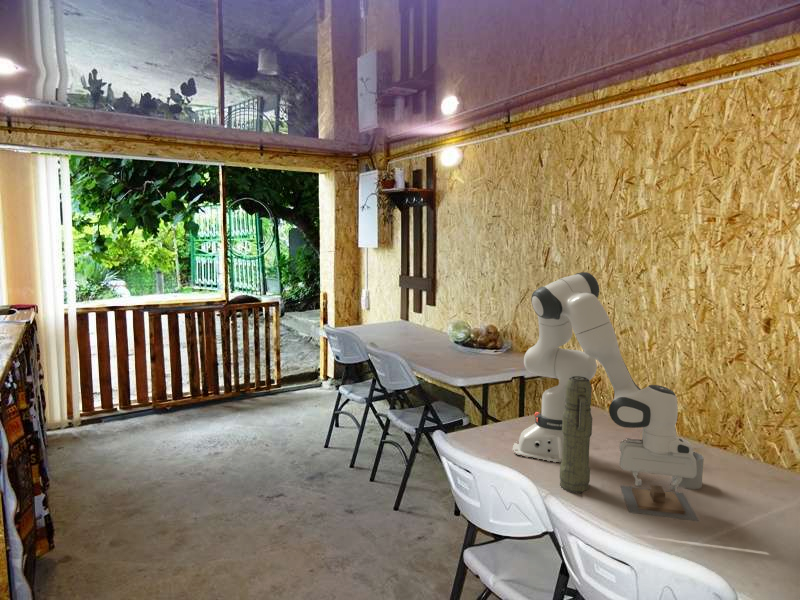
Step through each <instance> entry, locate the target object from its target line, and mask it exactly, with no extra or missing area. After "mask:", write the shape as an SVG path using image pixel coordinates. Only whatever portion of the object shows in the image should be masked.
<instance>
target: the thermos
mask: <svg viewBox="0 0 800 600" xmlns="http://www.w3.org/2000/svg"><path fill="white" fill-rule="evenodd" d="M590 381H591V380H589V379H587V378H585V377H580V376H573V377H571V378H569V380H568V382H567V385H566V398H565V402H566V405H565V410H564V413H563V420H562V432H563V455H562V461H561V462H560V464H559V487H560V486H561V487H560V488H561V489H562V488H563V489H562V490H563V491H565V490H566V492H567V493H568V492H569V493H572V494H583V492H586V491H588V490H589V486H590V485H589V483H590V479H591V468H590V465H589V463H590V461H589V460H590V440H591V437H592V433H593V416H592V409H591V405H592V390H593V389H592V385H591V382H590Z"/></svg>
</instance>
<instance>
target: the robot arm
mask: <svg viewBox="0 0 800 600" xmlns="http://www.w3.org/2000/svg"><path fill="white" fill-rule="evenodd" d="M599 295H600V286H599V282H598V280H597V279H596V277H595V276H593V274H591V272H590V273H589V272H587V271H585V272H583V271H582V272H577V273H575V274H572V275H568V276H565V277H564V276H563V277H561V278H559V279H557V280H555V281H552V282H550V283H548V284H546V285H544V286H540V287H538V288H536V290H534V291H533V292H532V293H531V297H530V299H531V306H532V309H533V311H534V312H535V314H536V315H537V322H538V340H537V341H536V343H535V344H534V345H533V346H530V347H529V348H528V349H527V350H526V352H525V353H524V357H523V365H524V368H525V370H526V371H527V373H530V374H533V375H535V376H539V377H544V378H552V379H557V380H559V381H558V385H555V386H553V387H550V388H548V389H546V390H544V392H543V393H542V395H541V413H540V412H538V411H535V413H534V417H535V419H534V421H535V423H533V424H532V425H530V426H528V427H526V428H525V429H524V430H522V431H521V433H520V435H519V438H518V441H519V444H517V443H515V442H514V443H513V444H514V445H512V451H513V450H514V452H516V453H517V454H520V455H525V456H529V457H534V458H539V459H543V460H542V461H544V460H547V461H546V462H550V461H553V462H552V463H556V462H559V463H561V462H562V455H563V432H562V420H563V413H564V410H565V405H566V402H565V398H566V385H567V382H568V380H569V378H571V377H573V376H580V377H585V378H587V379H589V381H591V380H592V379H593V378H594V377H595V375H596V373H597V369H598V367H597V366H598V365H597V361H598V363H600V365H601V366H602V367H603V369H604V371H605V374H606V375H607V377H608V380H609V382H610V385H611V386H612V388H613V392H614V398H613V399H612V401H611V403H610V404H609V408H608V412H609V416H610V417H609V418H611V420H612V422H613V423H615V424H616V425H618V426H619V427H622V428H629V429H630V428H631V429H632V428H633V429H635V428H637V429H638V428H642V434H641V436H642V437H641V439H634V438H630V437H629V438H625V439H622V440H621V441H620V442H619V451H620V457H619V467H620V468H621V469H622V470H623V471H629V472H631V473H632V476H633V478H634V479H635V481H634V482H635V484H634V485H635V486H636V487H642V484H643V483H642V479H641V478H638V475H639V473H645V474H651V475H653V474H654V475H661V476H669V477H672V476H675V477H676V480H675V482H674V483H673V482H670V491H671V492H677V491H678V487H679V486H678V485H679V484H680V482H681V481H682V477H685V478H694V477H695V476H696V475H697V466H696V459H695V457H694V456H693V452H695V451H694V447H693V445H692V444H691V442H689V441H688V440H686V439H683V438H682V437H678V436H677V430H676V424H677V421H678V410H679V409H678V397H677V395H676V393H675V392H674V391H673V390H671V388H668V387H666V386H663V385H658V384H649V385H648V386H646V387H644V388H642V389H641V387H639V386H638V385H637V384H636V382H635V381H634V379H633V378H632V375H631V374H630V372H629V369H628V367H627V365H626V363H625V361H624V358H623V356H622V354H621V351H620V347H619V342H618V339H617V335H616V333H615V329H614V327H613V324H612V322H611V319H610V317H609V315H608V313H607V312H606V309H605V308H604V305H602V303H601V301H600V300H599ZM573 333H574V336H575V338H576V340H577V342H578V344H579V346H580V347H581V349H582V350H583V351H582V350H579V349H578V350H577V349H568V348H561V347H563V346H564V345H566V344H567V343H568V342H570V341H571V339H572V337H573ZM515 450H517V451H515ZM514 452H513V453H514ZM539 459H538V460H539Z"/></svg>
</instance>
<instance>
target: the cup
mask: <svg viewBox="0 0 800 600" xmlns="http://www.w3.org/2000/svg"><path fill="white" fill-rule="evenodd" d="M693 456H694V457H695V459H696V466H697V475H696V476H695V477H694V478H685V477H682V481H681V482H680V484H679V485H678V486H677V487H680V488H684V489H688V490H699V489H701V488H702V486H703V473H704V462H705V461H704V458H705V457H704V456H703V454H700V453H698V452H695V451H694V452H693ZM675 480H676V477H675V476H671V481H672V482H671V483H674V482H675Z"/></svg>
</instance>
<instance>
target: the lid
mask: <svg viewBox="0 0 800 600" xmlns="http://www.w3.org/2000/svg"><path fill="white" fill-rule="evenodd" d="M639 488H640V487H637V488H632V493H633V495H634V498H635V500H636V503H637V506H638V508H639V509H645V510H653V511H661V512H669V513H677V514H685V510H684V509H683V507H682V505H681V503H680V501H679V500H678V498H677V496H676V494H675V493H673V492H674V491H671V492H664V491H665V490H664V488H663V486H661V485H655V484H650V488H649V489H650V490H647V489H648V488H645V489H639Z"/></svg>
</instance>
